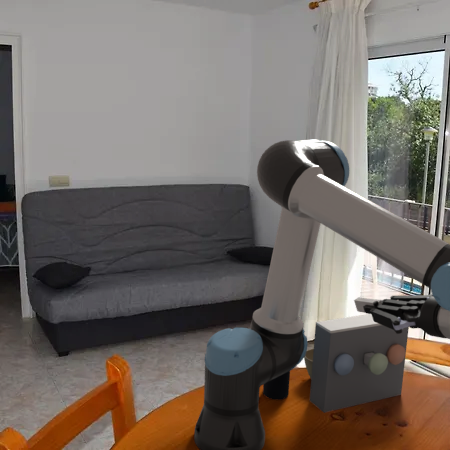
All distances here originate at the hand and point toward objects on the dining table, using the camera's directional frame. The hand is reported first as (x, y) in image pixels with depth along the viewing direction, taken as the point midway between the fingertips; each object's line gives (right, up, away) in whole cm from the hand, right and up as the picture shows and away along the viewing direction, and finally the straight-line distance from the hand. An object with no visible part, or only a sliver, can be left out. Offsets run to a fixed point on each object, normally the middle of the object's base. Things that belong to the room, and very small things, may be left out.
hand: (358, 304), depth 124 cm
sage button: (+6, -18, +12) cm, 22 cm away
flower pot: (-4, -24, +27) cm, 36 cm away
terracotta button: (+12, -17, +18) cm, 27 cm away
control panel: (+4, -26, +18) cm, 32 cm away
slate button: (-2, -17, +11) cm, 21 cm away
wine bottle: (-16, -25, +18) cm, 35 cm away
